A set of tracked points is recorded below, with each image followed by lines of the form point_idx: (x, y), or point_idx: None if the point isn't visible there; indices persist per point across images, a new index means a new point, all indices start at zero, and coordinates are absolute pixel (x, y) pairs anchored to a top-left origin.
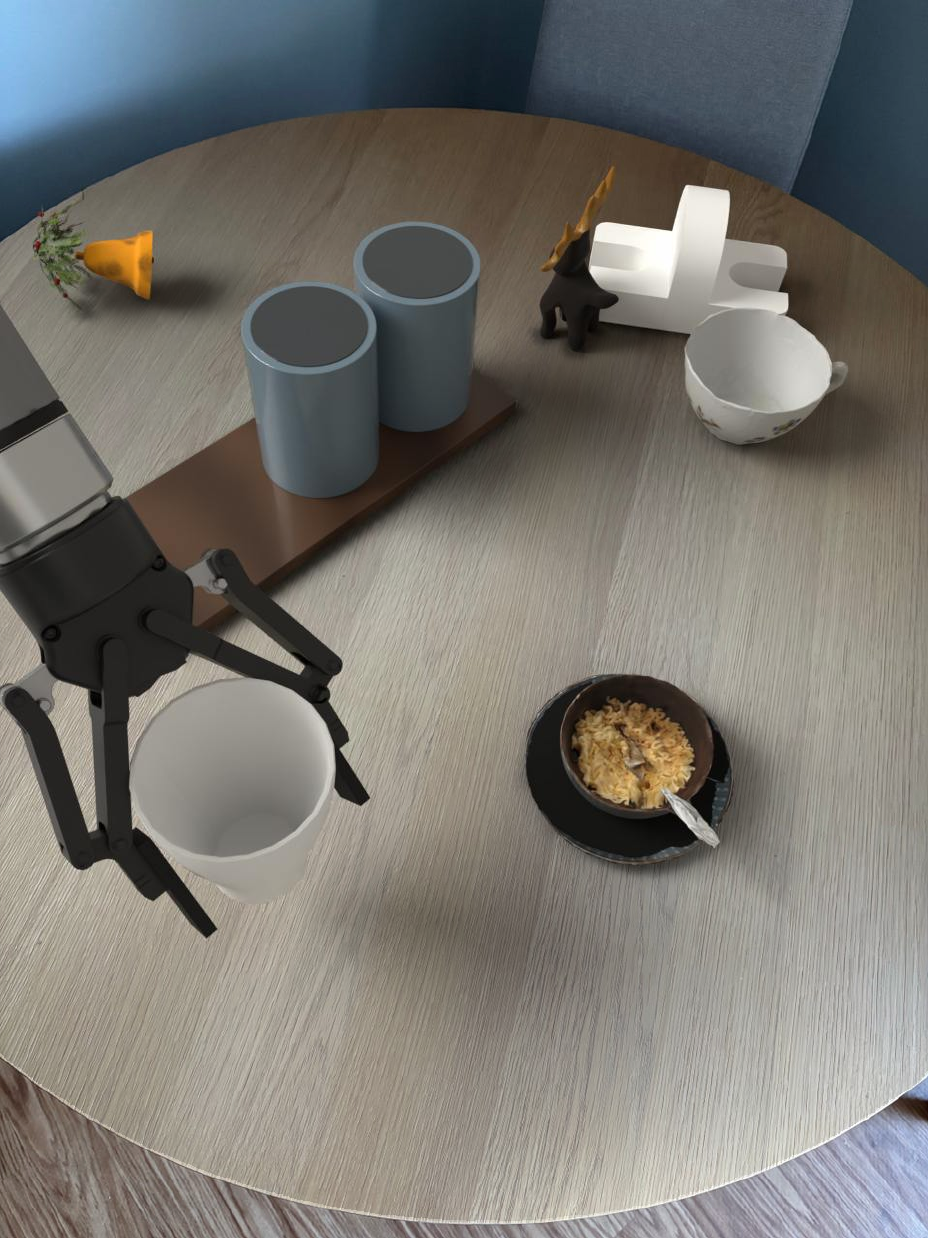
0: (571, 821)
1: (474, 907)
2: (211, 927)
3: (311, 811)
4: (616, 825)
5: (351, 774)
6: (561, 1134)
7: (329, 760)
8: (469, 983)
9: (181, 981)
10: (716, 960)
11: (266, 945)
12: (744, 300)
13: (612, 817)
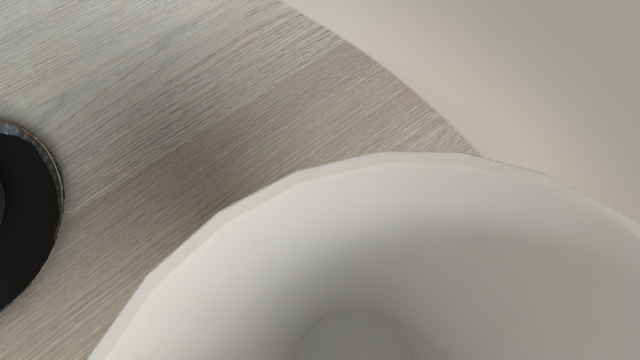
0: (42, 210)
1: (187, 207)
2: None
3: (266, 347)
4: (14, 179)
5: None
6: (261, 37)
7: (139, 313)
8: (240, 157)
9: None
10: (66, 51)
11: None
12: None
13: (9, 188)
